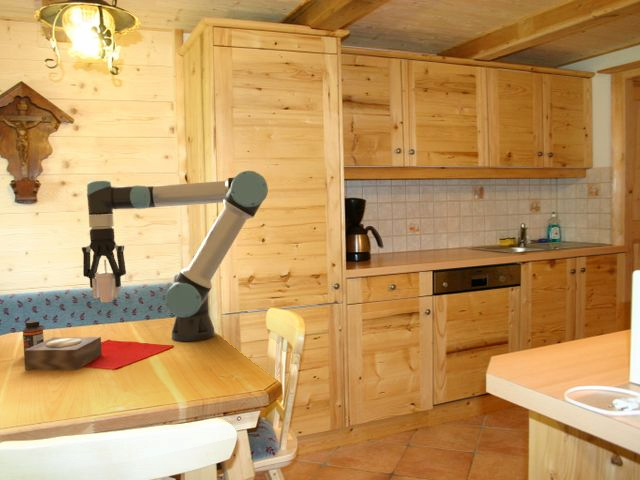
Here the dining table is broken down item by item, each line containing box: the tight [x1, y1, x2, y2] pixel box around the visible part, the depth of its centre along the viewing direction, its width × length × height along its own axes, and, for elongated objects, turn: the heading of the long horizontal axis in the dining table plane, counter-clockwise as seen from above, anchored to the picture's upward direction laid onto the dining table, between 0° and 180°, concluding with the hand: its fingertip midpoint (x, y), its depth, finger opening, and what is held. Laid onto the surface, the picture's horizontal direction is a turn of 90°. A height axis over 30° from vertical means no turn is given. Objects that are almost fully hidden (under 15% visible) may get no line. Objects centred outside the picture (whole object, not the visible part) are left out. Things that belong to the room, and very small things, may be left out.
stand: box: [23, 336, 103, 371], centre depth 176 cm, size 16×16×6 cm
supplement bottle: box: [22, 319, 45, 351], centre depth 186 cm, size 6×6×11 cm
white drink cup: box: [95, 259, 114, 303], centre depth 190 cm, size 6×6×14 cm
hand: (106, 297), depth 190 cm, fingers closed on white drink cup, 6 cm apart
